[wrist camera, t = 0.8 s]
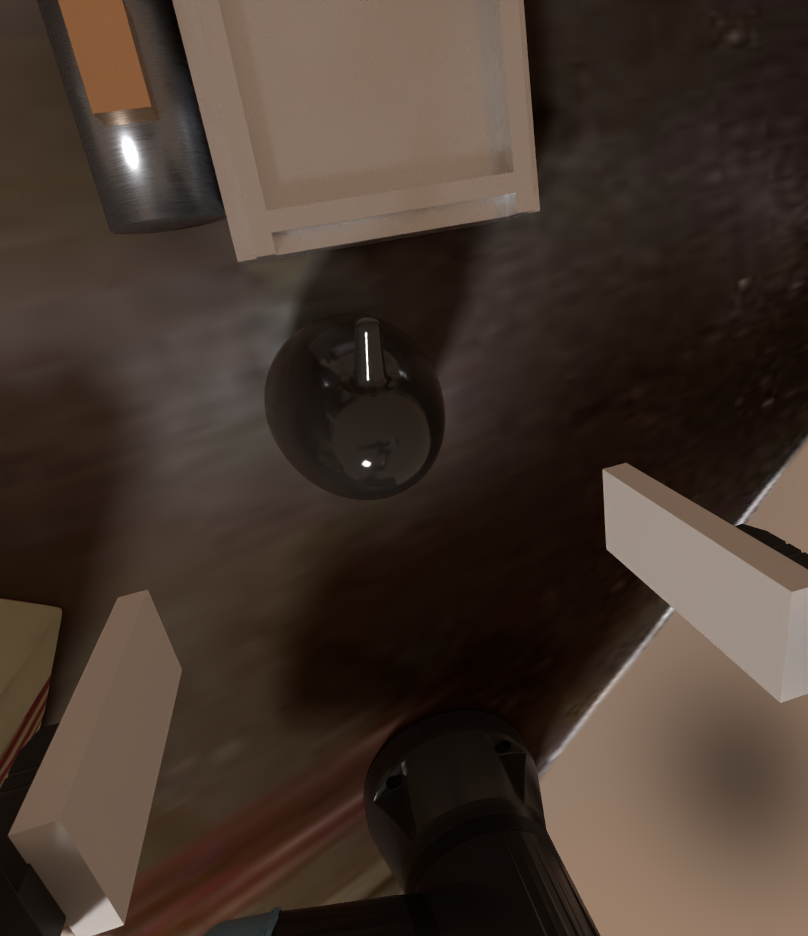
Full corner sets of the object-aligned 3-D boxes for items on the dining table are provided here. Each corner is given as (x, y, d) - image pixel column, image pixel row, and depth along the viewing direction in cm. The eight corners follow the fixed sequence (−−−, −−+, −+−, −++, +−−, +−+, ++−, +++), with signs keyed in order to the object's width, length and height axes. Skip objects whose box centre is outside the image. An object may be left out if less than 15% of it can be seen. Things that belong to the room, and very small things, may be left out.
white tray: (506, 220, 37) (565, 203, 29) (140, 282, 33) (101, 281, 26) (473, -113, 31) (537, -240, 23) (27, -80, 27) (-64, -217, 20)
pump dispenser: (411, 298, 37) (497, 305, 23) (424, 450, 40) (505, 539, 26) (251, 315, 35) (236, 334, 21) (279, 472, 38) (282, 581, 24)
